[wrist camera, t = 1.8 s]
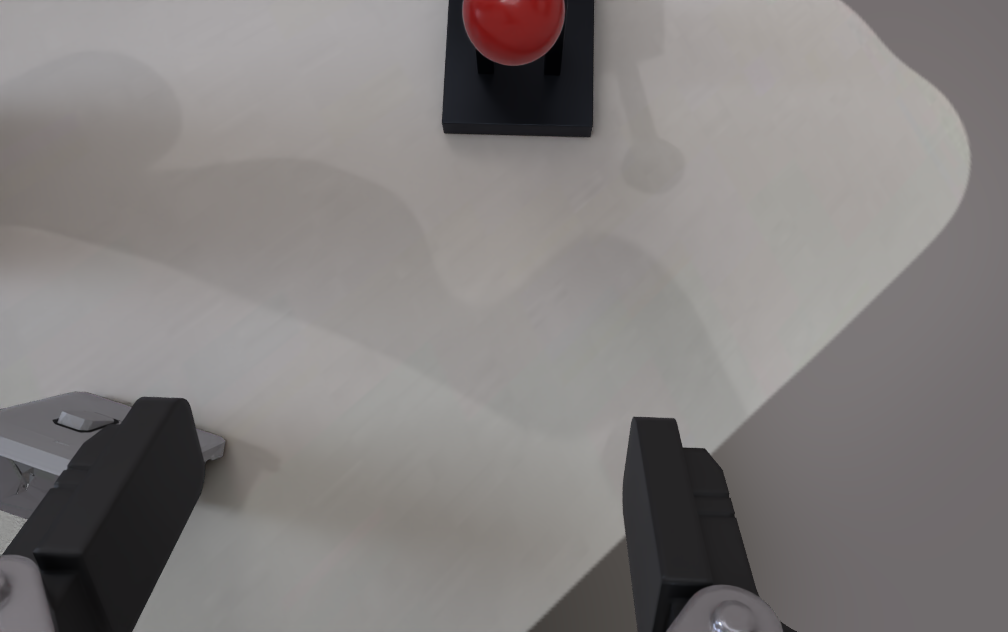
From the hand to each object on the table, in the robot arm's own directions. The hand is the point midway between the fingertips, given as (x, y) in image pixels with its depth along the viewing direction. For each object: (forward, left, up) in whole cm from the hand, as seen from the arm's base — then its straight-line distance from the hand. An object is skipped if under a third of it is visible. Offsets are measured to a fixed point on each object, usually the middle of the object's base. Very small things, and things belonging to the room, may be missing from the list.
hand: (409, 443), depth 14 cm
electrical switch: (-15, -12, -30) cm, 36 cm away
